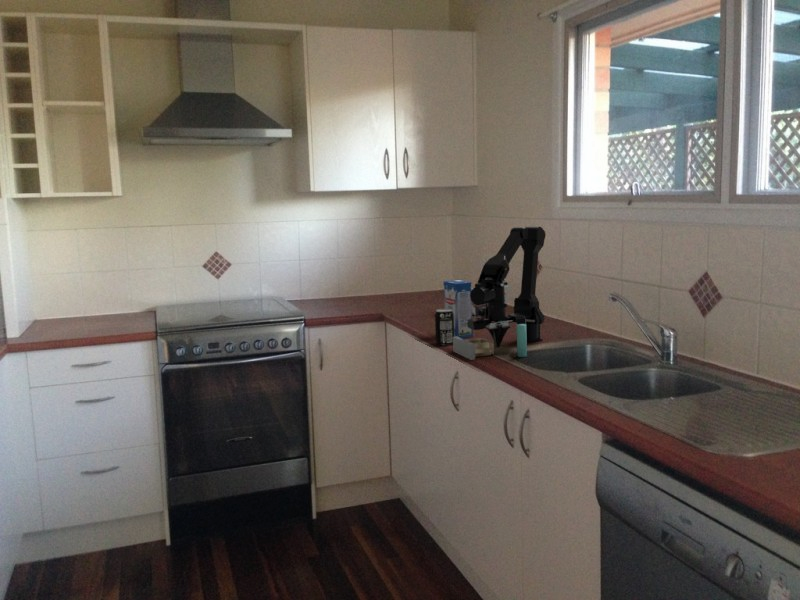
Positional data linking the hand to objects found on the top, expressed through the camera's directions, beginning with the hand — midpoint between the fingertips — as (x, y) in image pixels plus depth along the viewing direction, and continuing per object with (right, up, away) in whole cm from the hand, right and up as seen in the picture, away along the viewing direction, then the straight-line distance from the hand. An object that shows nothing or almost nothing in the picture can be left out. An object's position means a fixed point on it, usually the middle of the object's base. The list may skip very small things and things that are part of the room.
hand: (497, 347), depth 239 cm
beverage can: (-16, 0, +16) cm, 23 cm away
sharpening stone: (+4, +10, +75) cm, 76 cm away
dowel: (+7, -2, -8) cm, 11 cm away
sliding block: (-7, -2, -2) cm, 7 cm away
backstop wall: (-11, -2, -4) cm, 12 cm away
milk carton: (-10, +2, +29) cm, 31 cm away
